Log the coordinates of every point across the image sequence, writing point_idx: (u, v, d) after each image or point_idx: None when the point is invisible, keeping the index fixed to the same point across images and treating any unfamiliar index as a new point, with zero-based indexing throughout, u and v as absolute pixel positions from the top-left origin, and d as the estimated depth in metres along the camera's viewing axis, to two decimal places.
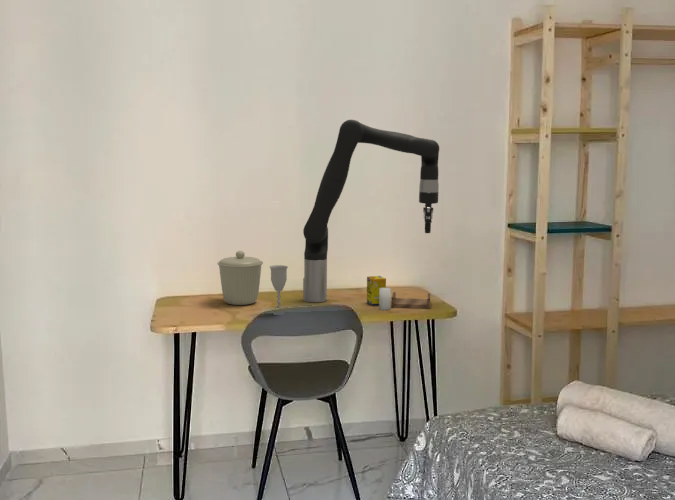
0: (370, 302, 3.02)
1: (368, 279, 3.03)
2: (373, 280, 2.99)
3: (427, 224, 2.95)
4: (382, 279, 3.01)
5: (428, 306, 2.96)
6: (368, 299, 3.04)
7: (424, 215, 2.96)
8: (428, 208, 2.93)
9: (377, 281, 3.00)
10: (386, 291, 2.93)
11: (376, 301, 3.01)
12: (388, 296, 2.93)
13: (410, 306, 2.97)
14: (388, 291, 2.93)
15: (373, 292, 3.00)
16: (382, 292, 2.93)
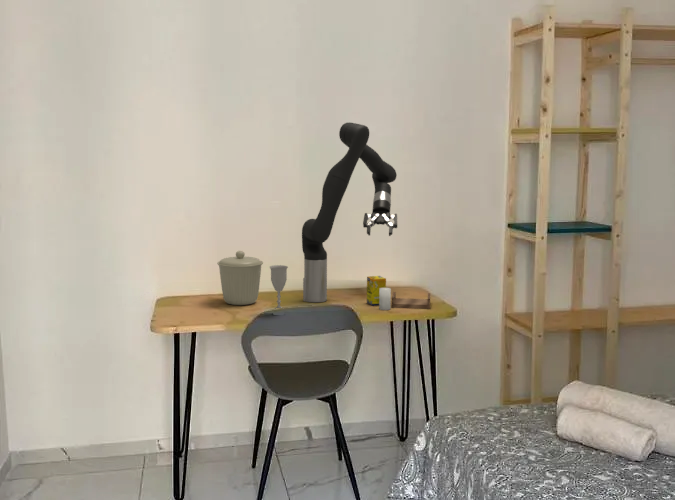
0: (370, 302, 3.02)
1: (368, 279, 3.03)
2: (373, 280, 2.99)
3: (392, 227, 3.15)
4: (382, 279, 3.01)
5: (428, 306, 2.96)
6: (368, 299, 3.04)
7: (389, 219, 3.16)
8: None
9: (377, 281, 3.00)
10: (386, 291, 2.93)
11: (376, 301, 3.01)
12: (388, 296, 2.93)
13: (410, 306, 2.97)
14: (388, 291, 2.93)
15: (373, 292, 3.00)
16: (382, 292, 2.93)
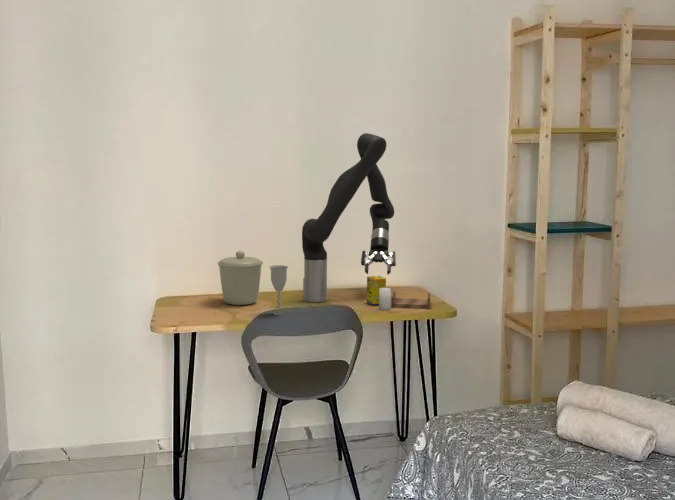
0: (370, 302, 3.02)
1: (368, 279, 3.03)
2: (373, 280, 2.99)
3: (391, 266, 3.11)
4: (382, 279, 3.01)
5: (428, 306, 2.96)
6: (368, 299, 3.04)
7: (387, 257, 3.12)
8: None
9: (377, 281, 3.00)
10: (386, 291, 2.93)
11: (376, 301, 3.01)
12: (388, 296, 2.93)
13: (410, 306, 2.97)
14: (388, 291, 2.93)
15: (373, 292, 3.00)
16: (382, 292, 2.93)
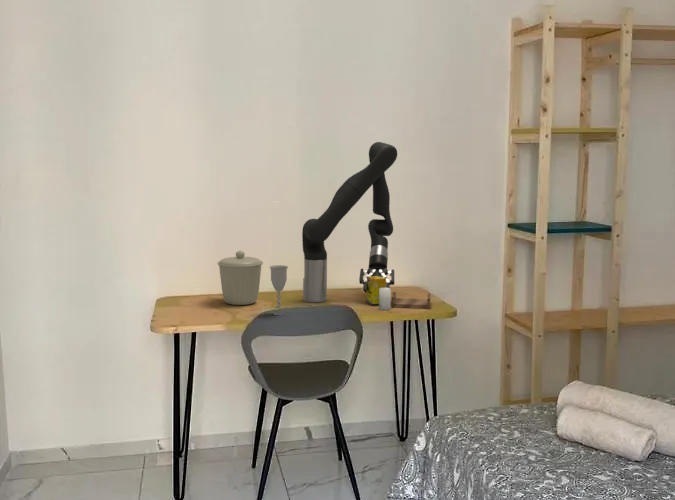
0: (370, 302, 3.02)
1: (368, 279, 3.03)
2: (373, 280, 2.99)
3: (389, 284, 3.04)
4: (382, 279, 3.01)
5: (428, 306, 2.96)
6: (368, 299, 3.04)
7: (385, 276, 3.05)
8: None
9: (377, 281, 3.00)
10: (386, 291, 2.93)
11: (376, 301, 3.01)
12: (388, 296, 2.93)
13: (410, 306, 2.97)
14: (388, 291, 2.93)
15: (373, 292, 3.00)
16: (382, 292, 2.93)
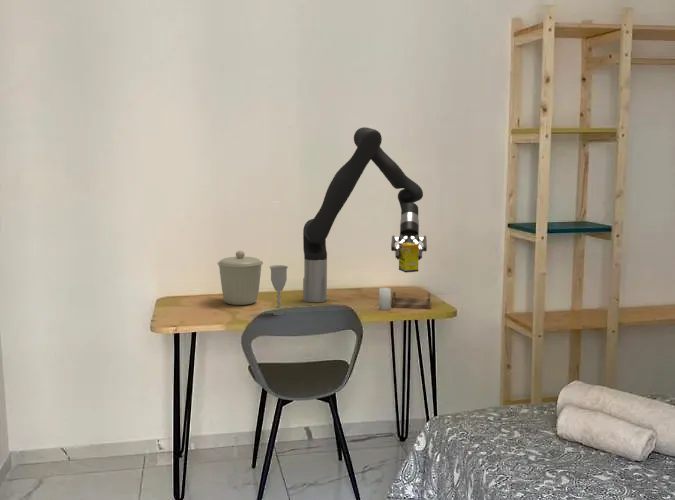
0: (403, 269, 2.99)
1: (400, 246, 3.00)
2: (406, 246, 2.96)
3: (422, 251, 3.00)
4: (415, 245, 2.97)
5: (428, 306, 2.96)
6: (400, 266, 3.01)
7: None
8: None
9: (410, 247, 2.97)
10: (386, 291, 2.93)
11: (409, 268, 2.98)
12: (388, 296, 2.93)
13: (410, 306, 2.97)
14: (388, 291, 2.93)
15: (406, 258, 2.97)
16: (382, 292, 2.93)
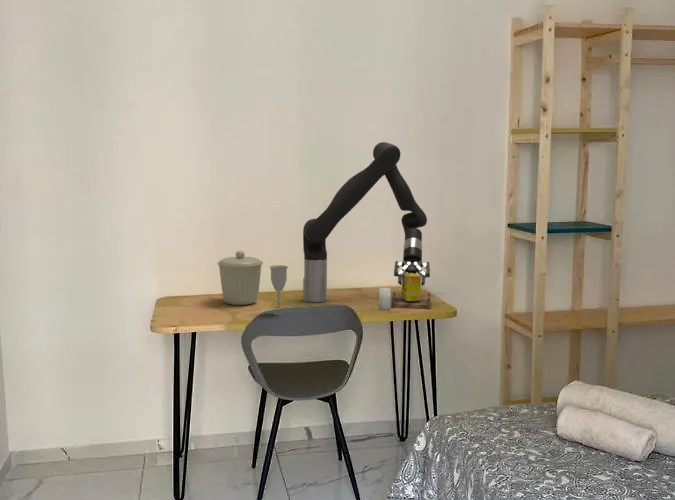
0: (405, 299, 3.01)
1: (403, 276, 3.02)
2: (408, 277, 2.98)
3: (425, 277, 3.01)
4: (417, 276, 2.99)
5: (428, 306, 2.96)
6: (403, 296, 3.03)
7: None
8: None
9: (412, 278, 2.98)
10: (386, 291, 2.93)
11: (411, 298, 2.99)
12: (388, 296, 2.93)
13: (410, 306, 2.97)
14: (388, 291, 2.93)
15: (408, 289, 2.99)
16: (382, 292, 2.93)
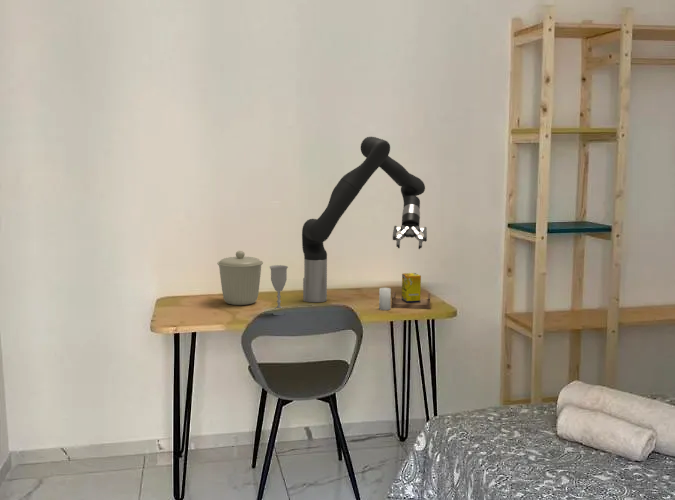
0: (405, 299, 3.01)
1: (403, 276, 3.02)
2: (408, 277, 2.98)
3: (422, 241, 3.16)
4: (417, 276, 2.99)
5: (428, 306, 2.96)
6: (403, 296, 3.03)
7: (418, 232, 3.17)
8: None
9: (412, 278, 2.98)
10: (386, 291, 2.93)
11: (411, 298, 2.99)
12: (388, 296, 2.93)
13: (410, 306, 2.97)
14: (388, 291, 2.93)
15: (408, 289, 2.99)
16: (382, 292, 2.93)
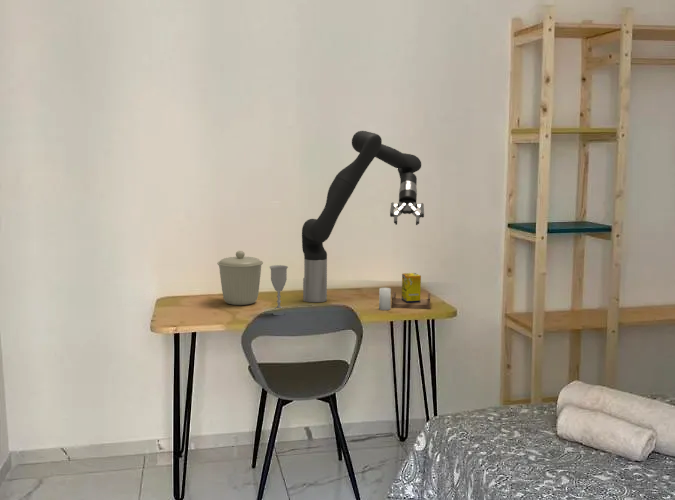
0: (405, 299, 3.01)
1: (403, 276, 3.02)
2: (408, 277, 2.98)
3: (419, 217, 3.17)
4: (417, 276, 2.99)
5: (428, 306, 2.96)
6: (403, 296, 3.03)
7: (415, 209, 3.18)
8: None
9: (412, 278, 2.98)
10: (386, 291, 2.93)
11: (411, 298, 2.99)
12: (388, 296, 2.93)
13: (410, 306, 2.97)
14: (388, 291, 2.93)
15: (408, 289, 2.99)
16: (382, 292, 2.93)
